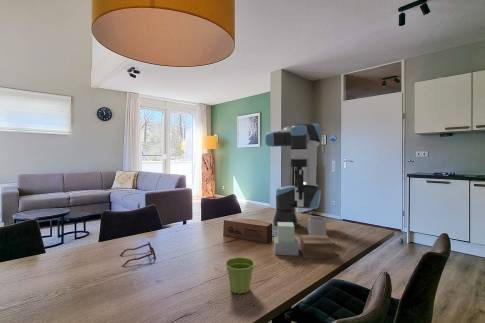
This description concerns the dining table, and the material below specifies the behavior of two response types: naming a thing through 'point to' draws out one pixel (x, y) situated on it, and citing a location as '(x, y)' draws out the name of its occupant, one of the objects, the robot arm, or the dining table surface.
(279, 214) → the robot arm
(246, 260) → the plant pot
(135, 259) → the glasses
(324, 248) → the walnut plinth
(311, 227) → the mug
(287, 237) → the sage cube
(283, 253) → the slate block
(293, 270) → the dining table surface
